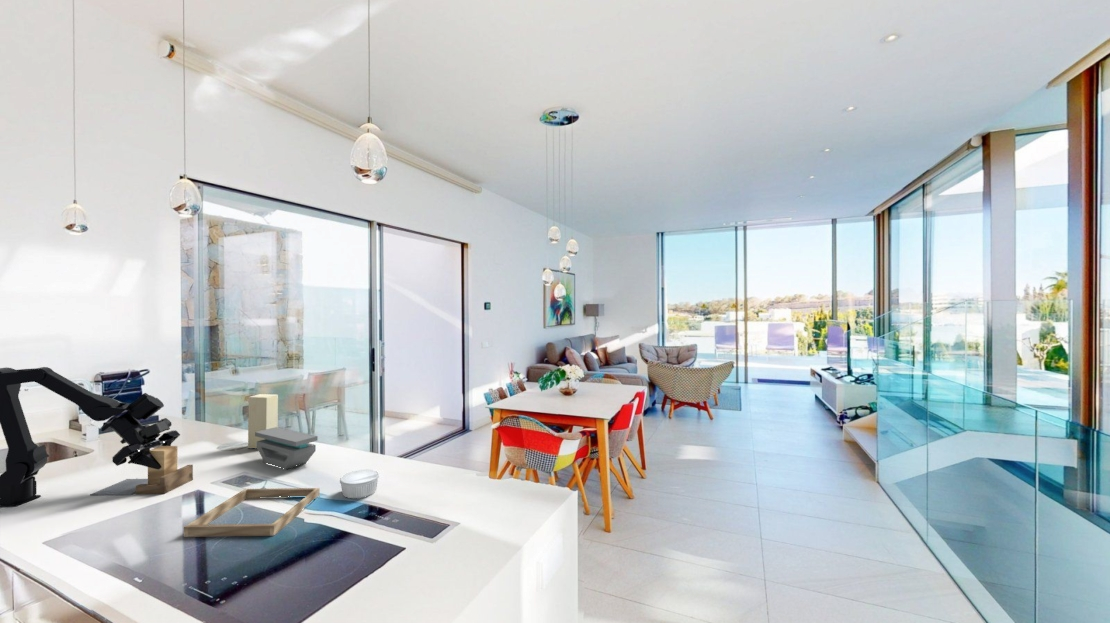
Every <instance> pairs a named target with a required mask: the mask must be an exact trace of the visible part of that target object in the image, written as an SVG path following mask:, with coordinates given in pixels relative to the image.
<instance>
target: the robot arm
mask: <svg viewBox="0 0 1110 623" xmlns="http://www.w3.org/2000/svg"><path fill="white" fill-rule="evenodd" d="M33 382H34V383H36V384H38V385H39V386H42V387H44V388H46V389H47V390H49V391H51V392H53V393H55V394H57V395H59V396H61V397H63V398H64V399H66V400H68V401H69V402H72V403H73V404H75V405H76V406H77V407H79V409H80V410H81V412H82V413H84V414H85V415H86V416H87V417H88V418H89V419H91V420H92V421H96V422H103V423H102V427H101V432H111V431H112V430H113V432H115V433H116V434H117V435H118V436H119V437H120V438H121V440H120V442H119V443H120V444H122V445H123V444H127V445H125V446H122V448H120V449H119V450H118V451H117V452H116V453H115V454H114V455H113V456H112V457H111V458H112V461H111V462H112V463H113V464H115V466H116V467H117V466H120V465H124V464H125V463H126V462H127V464H128V465H129V464H133V465H139V466H143V467H146V468H148V467H150V468H154V469H158V470H159V469H160V468H161V465H160V464H159V463H158V461H157V460H156V459H155V458H154V457H153V456H152V455H151V454H150V450H151V449H155V448H157V447H160V446H172V443H174V442H175V441H176V440H177V439H178V438H179V437H180V436H181V434H180V433H179V432H178V431H177V430H174V429H173V430H170V429H171V428H170V427H171V426H172V421H170V419H168V418H167V417H165V418H161V419H159V420H157V422H156V423H155V422H154V423H153V424H151V425H149V424H145V425H143V424H142V423H141V422H140V421H142V420H148V419H149V418H151V417H152V416H153V415H155V414H156V413H157V412H158V411H160V410H161V409H162V408H164V407H165V404H164V403H163V401H161V400H160V399H159V398H158V397H155V396H153V395H150V394H148V393H147V392H144V393H142V394H141V395H140V396H138V397H137V399H135V400H133V401H132V402H130V403H129V402H119V401H118V400H117V399H114V398H112V397H109V396H106V395H101V394H97V393H94V392H91V391H90V390H88V389H87V388H85V387H83V386H81V385H79V384H77V383H76V382H74V381H71V379H68V378H66V377H65V376H63V375H61V374H59V373H58V372H55V371H54V370H53V369H52V368H50V367H48V366H42V367H41V366H40V367H35V368H23V369H22V368H21V369H15V368H12V367H0V428H1V430H2V433H3V436H4V439H5V441H6V442H5V443H6V445H7V453H6V458H5V471H3V472H2V473H1V474H0V507H18V506H20V505H23V504H25V503H27V502H30V501H33V500H36V499H39V498H41V497H42V495H41V494H37V481H36V475H38V473H39V471H40V470H41V469H42V468H44V467H45V465H46V464H47V463H48V458H49V457H50V455H49V454H48V452H47V448H46V444H42V445H37V444H36V443H35V442H34V441H33V438H32V435H31V432H30V429H29V426H28V423H27V420H26V417H25V416H26V415H25V413H24V410H23V407H22V404H21V401H20V397H19V394H20V391H21V387H22V384H26V383H27V384H28V383H33ZM113 417H114V418H113ZM111 418H112V419H111ZM109 419H111V420H109ZM106 420H109V421H107V422H105V421H106ZM169 430H170V431H169ZM165 431H166V432H165ZM163 432H164V433H163ZM161 433H162V434H161ZM159 436H160V437H159ZM127 457H128V458H129V460H128V459H127ZM127 460H128V461H127Z"/></svg>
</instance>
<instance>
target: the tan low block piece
mask: <svg viewBox="0 0 1110 623" xmlns="http://www.w3.org/2000/svg"><path fill="white" fill-rule="evenodd" d="M193 469H194V464H187V465H184V466H181V467H180V468H179V469H178V468H177V470H175V471H173V472H171V473H169V474H166V475H164V476H162V477H160V484H139V485H137V486H136V493H135V494H136V495H165V494H168V493H169V492H171V491H174V490H176V489H177V488H179V487H181V486H183V485H186V484H187V483H189V482H191V481H193V480H194V470H193Z"/></svg>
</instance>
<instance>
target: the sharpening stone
mask: <svg viewBox="0 0 1110 623" xmlns="http://www.w3.org/2000/svg"><path fill="white" fill-rule="evenodd" d="M255 436H256V437H260V438H264V440H260V441H257V449H256V450H257V452H259V454H260V456H261V458H262V460H263V462H264V464H265V463H268V464H272V465H275V466H278V467H281V468H284V469H286V470H288V469H287V468H289V469H291V468H290V467H292V468H295V467H297V466H296V465H298V466H300V465H299V464H302V463H305V464H306V463H307V462H309V460H310V458H312V456H313V455H314V453H315V452H316V449H317V448H316V444H314V443H313V442H317V441H318V439H319V437H318V435H315V434H311V433H306V432H302V431H297V430H296V431H295V430H293V429H287V428H283V427H279V426H278V427H275V428H270V429H266V430H262V431H257V432H255ZM302 465H303V464H302ZM294 466H295V467H294Z"/></svg>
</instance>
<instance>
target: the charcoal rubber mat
mask: <svg viewBox="0 0 1110 623" xmlns="http://www.w3.org/2000/svg"><path fill="white" fill-rule="evenodd" d="M139 484H148V478H125V479H123V480H120V481H119V482H117V483H114V484H111V485H110V486H107V487H105V488H102V489H100V490H98V491H97V490H96V491H94V492H93V493H90V494H89V496H132V495H133V494H136V486H137V485H139Z"/></svg>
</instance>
